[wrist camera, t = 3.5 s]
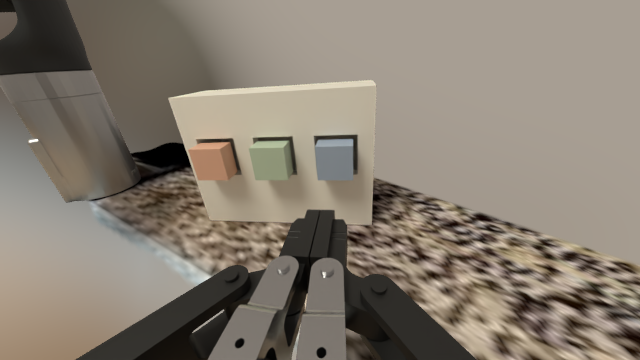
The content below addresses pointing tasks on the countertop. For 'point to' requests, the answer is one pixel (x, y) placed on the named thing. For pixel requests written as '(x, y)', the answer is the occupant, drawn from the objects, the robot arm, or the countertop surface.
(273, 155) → the sage button
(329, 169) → the blue button
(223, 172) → the terracotta button
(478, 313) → the countertop surface
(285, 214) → the control box
